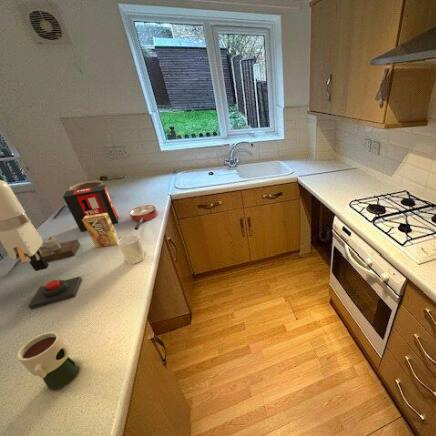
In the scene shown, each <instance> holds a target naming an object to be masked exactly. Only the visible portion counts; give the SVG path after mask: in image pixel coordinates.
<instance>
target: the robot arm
mask: <svg viewBox="0 0 436 436" xmlns="http://www.w3.org/2000/svg"><path fill="white" fill-rule="evenodd" d="M31 221H32V220H31V218H30V217H29V216H28V214H27V212H26V211H25V208H24V206H22V204H21V202H20V200H19V199H18V198H17V196H16V194H15V193H14V191H13V189H12V188H11V186H10V184H9V183H8V182H6V181H5V180H2V179H0V242H1V244H2V246H3V248H4V249H5V251H6V253H7V254H8V256H9V257H10V259H11V260H12V261H16V260H18V259H20V261H21V262H22V264H26V263H29V264H30V266H31V267H32V269H33V270H34V271H35V272H39V271H43V270H46V269H48V268H49V266H50V264H49V262H47V261H46V260H45V258H44V257H41V256H43V253H42V251H41V249H40V248H41V247H42V245H43V244H44V243H43V240H44V239H43V238H42V236H41V235H40V233H39V232H38V230H37V229H36V227H35V226H34V225H33V223H32V222H31Z"/></svg>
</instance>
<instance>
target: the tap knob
mask: <svg viewBox="0 0 436 436" xmlns="http://www.w3.org/2000/svg"><path fill="white" fill-rule="evenodd" d="M42 240H43V243H42V244H44V246H46V248H47V249H48V251H49V252H53V251H56V250H59V249H60V248H61V245H60V243H61V242H59V240H58V238H57V236H49V237H46V238H45V239H42Z"/></svg>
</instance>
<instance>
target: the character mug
mask: <svg viewBox="0 0 436 436" xmlns="http://www.w3.org/2000/svg"><path fill="white" fill-rule="evenodd" d="M70 354H71V351H70V348H69V346H68V345H66V344H65V342H64V339H63V338H62V337H61V336H60V334H59V333H57V332H55V331H48V332H44V333H41V334H39V335H37V336H34V337H33V338H31V339H30V340H29V341H27V342H26V343H25V344H23V346H21V347H20V349H19V350H18V351H17V353H16V359H17V360H18V361H19V362H20V364H22V366H24V368H25V369H26V370H27V371H28V372H29V373H30V374H31V375H32V376H34V377H39V378H40V379H42V380H43V382H44V383H45V385H46V387H47V389H48V390H56V389H59V388H62V387H64V386H66V385H68V384H70V383H71V382H72V381H73V380H74V379H75V378H76V377H77V375H78V374H79V372H80V370H79V369H78V368H80V365H78V364H77V362H76V361H74V360H73V359H72V358H71V357H70ZM77 367H78V368H77Z"/></svg>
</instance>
